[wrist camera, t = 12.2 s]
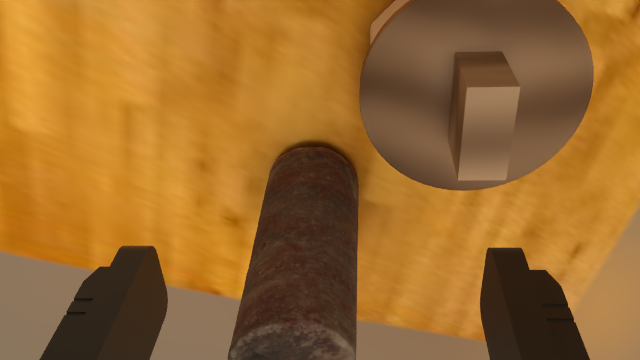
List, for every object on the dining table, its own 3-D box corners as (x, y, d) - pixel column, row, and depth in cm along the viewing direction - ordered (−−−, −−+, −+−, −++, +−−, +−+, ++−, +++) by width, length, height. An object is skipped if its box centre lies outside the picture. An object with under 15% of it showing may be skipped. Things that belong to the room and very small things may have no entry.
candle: (299, 120, 46) (264, 309, 30) (377, 164, 48) (385, 366, 31) (254, 187, 50) (200, 388, 33) (328, 226, 52) (311, 434, 35)
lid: (358, -22, 35) (357, 12, 30) (610, -29, 34) (654, 5, 29) (360, 181, 43) (360, 235, 38) (564, 180, 42) (592, 236, 37)
